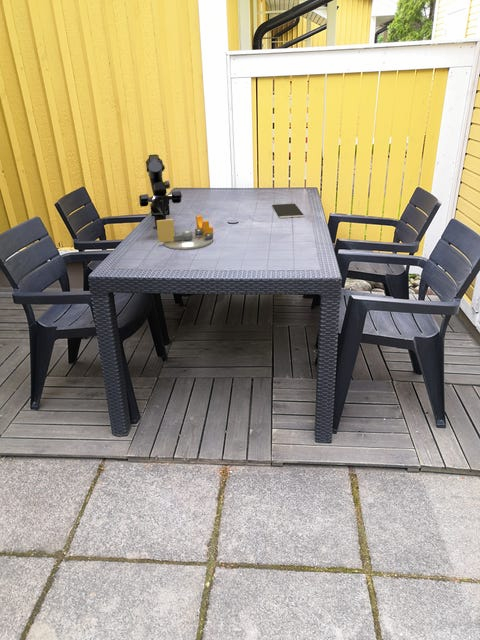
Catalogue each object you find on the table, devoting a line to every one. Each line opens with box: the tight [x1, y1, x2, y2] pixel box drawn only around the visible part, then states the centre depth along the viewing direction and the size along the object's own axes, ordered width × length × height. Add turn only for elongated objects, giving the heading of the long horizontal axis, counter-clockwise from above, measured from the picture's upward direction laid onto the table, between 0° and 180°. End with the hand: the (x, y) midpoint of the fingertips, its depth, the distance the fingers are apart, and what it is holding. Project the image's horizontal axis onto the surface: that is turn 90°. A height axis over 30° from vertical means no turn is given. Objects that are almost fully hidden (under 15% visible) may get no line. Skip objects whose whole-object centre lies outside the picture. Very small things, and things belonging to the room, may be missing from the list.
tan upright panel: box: [156, 218, 193, 243], centre depth 210 cm, size 15×4×10 cm, turn 107°
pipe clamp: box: [195, 215, 214, 235], centre depth 228 cm, size 12×4×6 cm, turn 22°
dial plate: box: [162, 228, 214, 251], centre depth 214 cm, size 22×22×3 cm
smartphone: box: [271, 203, 306, 220], centre depth 257 cm, size 13×27×2 cm, turn 5°
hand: (164, 215), depth 213 cm, fingers closed
